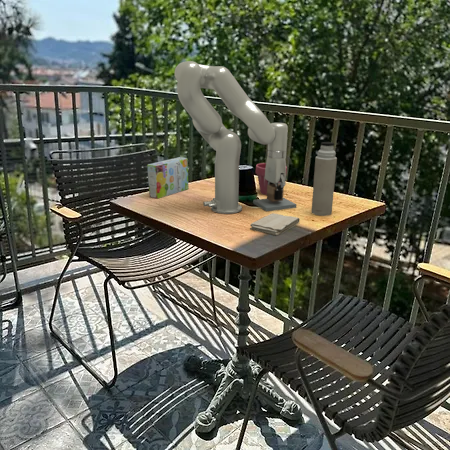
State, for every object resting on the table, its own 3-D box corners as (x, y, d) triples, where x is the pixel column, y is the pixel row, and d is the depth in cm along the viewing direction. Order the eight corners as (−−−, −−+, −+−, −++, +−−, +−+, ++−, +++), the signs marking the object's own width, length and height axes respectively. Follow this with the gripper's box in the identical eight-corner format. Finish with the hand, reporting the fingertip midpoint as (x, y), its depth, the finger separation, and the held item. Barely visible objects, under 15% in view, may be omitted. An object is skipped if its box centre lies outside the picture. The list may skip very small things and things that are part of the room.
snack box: (180, 187, 209) (179, 156, 204) (189, 189, 206) (188, 158, 201) (148, 197, 193) (146, 163, 188) (157, 199, 190) (156, 165, 185)
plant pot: (291, 192, 202) (293, 165, 198) (274, 198, 192) (275, 170, 188) (266, 187, 211) (267, 161, 207) (248, 192, 201) (249, 165, 196)
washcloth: (248, 231, 154) (248, 222, 153) (271, 217, 168) (272, 210, 167) (278, 237, 148) (278, 229, 147) (300, 223, 162) (300, 215, 161)
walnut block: (272, 201, 178) (272, 187, 176) (266, 198, 182) (267, 184, 180) (282, 200, 180) (283, 186, 178) (277, 197, 184) (277, 183, 182)
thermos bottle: (307, 212, 173) (312, 142, 164) (318, 208, 178) (324, 140, 169) (324, 217, 168) (330, 144, 159) (335, 212, 173) (342, 142, 164)
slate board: (266, 211, 174) (266, 207, 174) (253, 203, 185) (253, 200, 184) (296, 207, 179) (296, 204, 179) (282, 200, 190) (282, 196, 189)
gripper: (259, 151, 181) (257, 193, 187) (278, 158, 166) (276, 204, 172) (274, 150, 183) (272, 191, 190) (295, 157, 169) (292, 202, 175)
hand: (274, 197), depth 181 cm, fingers closed on walnut block, 5 cm apart
